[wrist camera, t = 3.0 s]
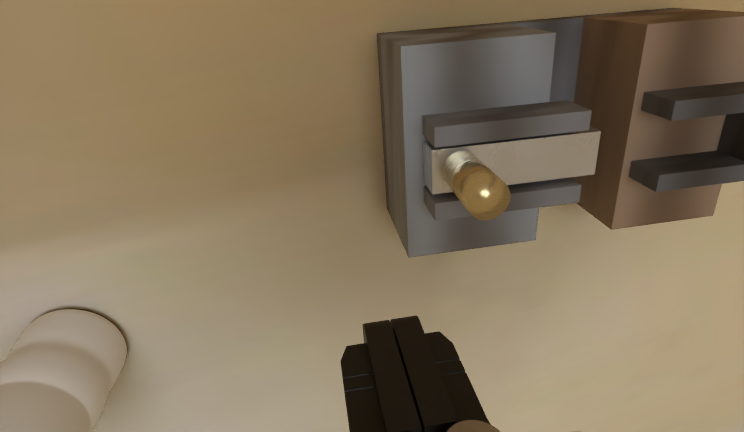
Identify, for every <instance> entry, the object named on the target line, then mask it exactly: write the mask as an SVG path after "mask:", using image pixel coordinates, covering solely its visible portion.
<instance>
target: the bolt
mask: <svg viewBox="0 0 744 432" xmlns="http://www.w3.org/2000/svg"><path fill="white" fill-rule="evenodd" d="M600 134H601V131H600V130H598V129H595V128H593V127H591V126H590V127H589V130H586V131H577V132H568V133H559V134H551V135H542V136H533V137H524V138H515V139H506V140H498V141H489V142H480V143H471V144H462V145H454V146H445V147H436V148H434V146H433V145H432V144H431V143H430V142H429V141H428V140H423V162H424V183H425V184H426V186H427V187H428V189H429V190H430V192H431V193H432V194H440V193H448V192H454V194H455V195H456V196H457V197H458V199H459V200H460V201H461V202H462V204H463V205H464V206H465V208H466V209H467V210H468V211H469V213H470V214H471V215H472V216H473V217H475V218H476V219H479V220H491V219H494V218H496V217H498V216H499V215H501V214H502V213H503V212H504V211H505V210H506V208H507V207H508V205H509V202H510V197H511V194H510V190H509V187H508V186H507V185H513V184H521V183H529V182H537V181H545V180H553V179H561V178H569V177H577V176H585V175H593V174H595V168H596V161H597V154H598V148H599V141H600Z"/></svg>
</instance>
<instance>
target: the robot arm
mask: <svg viewBox="0 0 744 432" xmlns="http://www.w3.org/2000/svg"><path fill="white" fill-rule="evenodd" d="M363 335H364V344H357V345H351V346H346V349H345V352H344V354H343V357H342V359H341V368H342V376H343V384H344V392H345V400H346V407H347V415H348V422H349V430H350V432H500V431H499V430H498V429H496V428H495V427H494V426H492V425H491V424H490V423H489V421H488V419H487V418H486V415H485V413H484V411H483V409H482V407H481V404H480V402H479V400H478V398H477V396H476V393H475V391H474V389H473V387H472V385H471V382H470V380H469V378H468V376H467V374H466V373H465V369H464V367H463V365H462V363H461V361H460V360H459V356H458V354H457V352H456V350H455V347H454V345H453V343H452V342H451V341H450V340H448V339H447V338H446V337H445V336H444V335H443V334H442V333H440V332H433V333H426V334H425V333H424V331H423V328H422V326H421V323H420V321H419V318H418V316H411V317H404V318H397V319H391V321H389V320H385V321H379V322H372V323H366V324H363Z"/></svg>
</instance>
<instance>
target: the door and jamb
mask: <svg viewBox="0 0 744 432" xmlns="http://www.w3.org/2000/svg"><path fill="white" fill-rule="evenodd" d="M377 43H378V60H379V77H380V95H381V112H382V129H383V147H384V164H385V181H386V199H387V209H388V211H389V213H390V216H391V218H392V220H393V223H394V225H395V227H396V230H397V232H398V234H399V237H400V239H401V241H402V243H403V246H404V248H405V250H406V253H407V255H408V257H416V256H424V255H431V254H438V253H445V252H453V251H460V250H467V249H474V248H482V247H489V246H496V245H503V244H511V243H518V242H525V241H532V240H536V232H537V221H538V211H539V207H546V206H554V205H561V204H569V203H577V204H578V205H580V206H581V207H582V208H584V209H585V210H586V211H588V212H589V213H590V214H592V215H593V216H594V217H595V218H597V219H598V220H599V221H601V222H602V223H603V224H605V225H606V226H607V227H609V228H610V229H611V230H612V229H619V228H627V227H634V226H641V225H648V224H656V223H663V222H670V221H677V220H685V219H692V218H699V217H706V216H713V214H714V210H715V207H716V203H717V199H718V196H719V192H720V189H721V185H722V183H730V182H738V181H744V12H734V11H717V10H699V9H681V8H667V9H656V10H644V11H632V12H621V13H609V14H597V15H586V16H574V17H562V18H551V19H539V20H528V21H516V22H504V23H493V24H481V25H469V26H458V27H446V28H434V29H423V30H411V31H400V32H388V33H377ZM590 126H591V127H593V128H595V129H598V130H600V131H601V134H600V141H599V148H598V154H597V161H596V168H595V174H593V175H585V176H577V177H569V178H561V179H553V180H545V181H537V182H529V183H521V184H513V185H507V186H508V187H509V190H510V194H511V197H510V202H509V205H508V207H507V208H506V210H505V211H504V212H503V213H502V214H501V215H499V216H498V217H496V218H494V219H491V220H479V219H476V218H475V217H473V216H472V215H471V214H470V213H469V211H468V210H467V209H466V208H465V206H464V205H463V204H462V202H461V201H460V200H459V199H458V197H457V196H456V195H455V194H454V192H448V193H440V194H432V193H431V192H430V190H429V189H428V187H427V186H426V184H425V183H424V162H423V140H428V141H429V142H430V143H431V144H432V145H433V146H434V148H436V147H445V146H454V145H462V144H471V143H480V142H489V141H498V140H506V139H515V138H524V137H533V136H542V135H551V134H559V133H568V132H577V131H586V130H589V127H590Z"/></svg>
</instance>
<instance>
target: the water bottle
mask: <svg viewBox="0 0 744 432" xmlns="http://www.w3.org/2000/svg"><path fill="white" fill-rule="evenodd" d="M126 355H127V346H126V342H125V339H124V337H123V335H122V334H121V332H120V331H119V330H118V328H117V327H116V326H115V325H113V324H112V323H111V322H110V321H108V320H107V319H105V318H103V317H102V316H100V315H97V314H95V313H92V312H88V311H84V310H76V309H64V310H57V311H53V312H49V313H47V314H44V315H42V316H40V317H39V318H37V319H36V320H34V321H33V322H32V323H31V324H30V325H29V326H28V327H27V328H26V329H25V330H24V332H23V333H22V334H21V336H20V337H19V338H18V340H17V341H16V343H15V344H14V346H13V347H12V349H11V351H10V352H9V354H8V356H7V358H6V359H5V360H4V361H3V362H2V363H1V364H0V432H92V431H93V429H94V427H95V426H96V424H97V422H98V420H99V419H100V416H101V414H102V412H103V410H104V407H105V404H106V401H107V398H108V393H109V392H110V390H111V389H112V387H113V385H114V384H115V382H116V380H117V378H118V376H119V374H120V372H121V370H122V368H123V365H124V363H125V360H126Z"/></svg>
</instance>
